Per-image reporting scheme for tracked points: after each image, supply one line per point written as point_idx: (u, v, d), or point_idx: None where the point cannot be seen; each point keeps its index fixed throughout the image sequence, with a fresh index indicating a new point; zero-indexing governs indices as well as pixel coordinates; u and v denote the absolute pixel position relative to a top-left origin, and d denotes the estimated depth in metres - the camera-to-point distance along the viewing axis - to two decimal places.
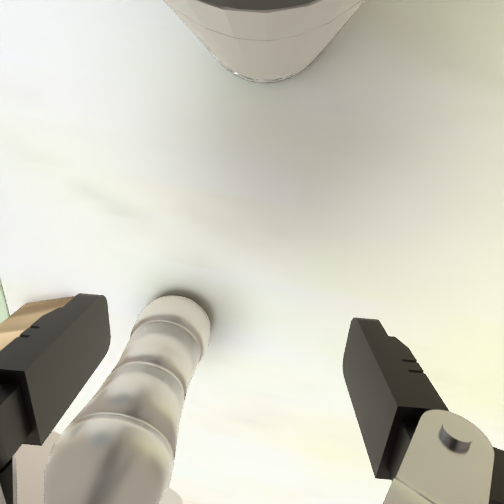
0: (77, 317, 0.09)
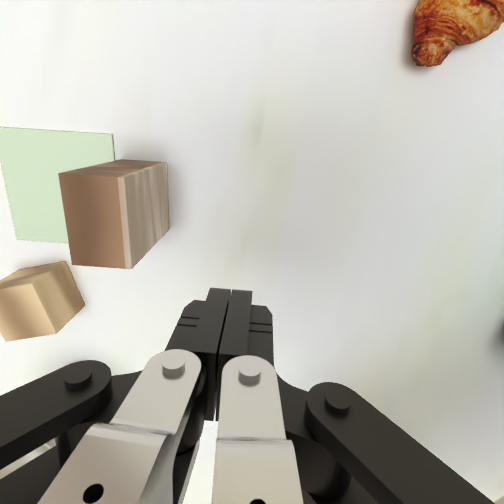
0: (225, 308, 0.10)
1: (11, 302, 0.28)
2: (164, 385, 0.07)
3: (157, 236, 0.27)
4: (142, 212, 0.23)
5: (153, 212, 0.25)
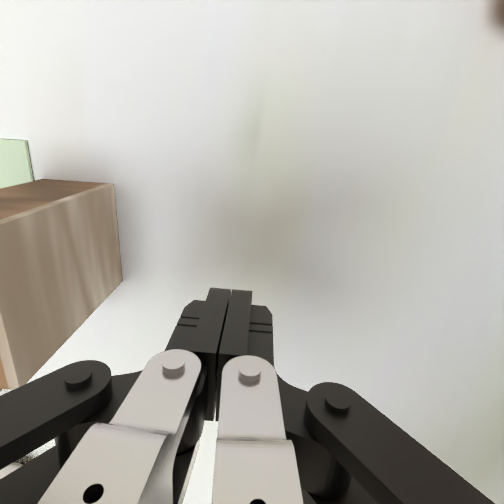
0: (225, 308, 0.10)
1: None
2: (164, 385, 0.07)
3: (95, 301, 0.17)
4: (50, 278, 0.13)
5: (83, 267, 0.15)
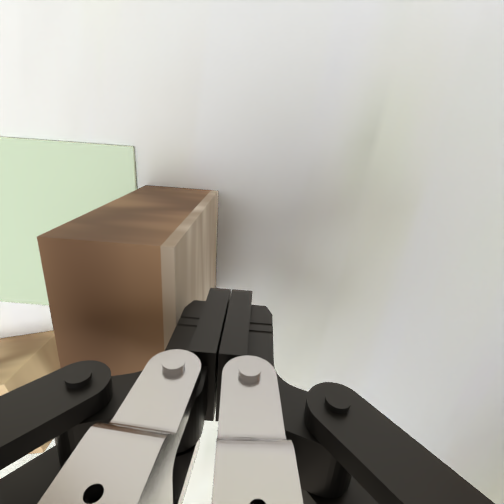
0: (225, 308, 0.10)
1: None
2: (164, 385, 0.07)
3: None
4: (193, 291, 0.13)
5: (204, 277, 0.15)
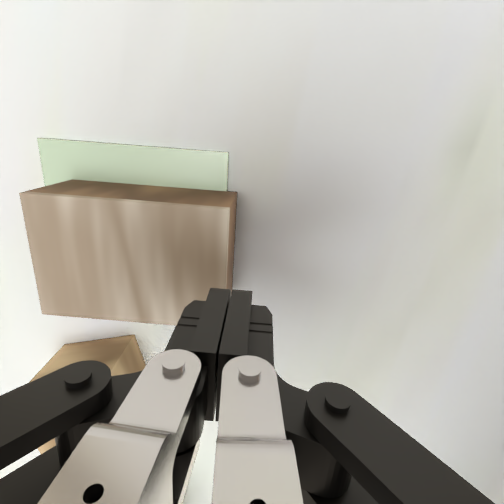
0: (225, 308, 0.10)
1: None
2: (164, 385, 0.07)
3: (156, 315, 0.16)
4: (87, 258, 0.15)
5: (139, 273, 0.15)
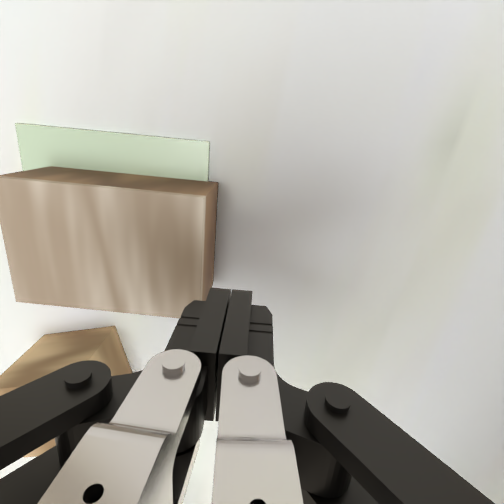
0: (225, 308, 0.10)
1: None
2: (164, 385, 0.07)
3: (131, 305, 0.16)
4: (61, 245, 0.15)
5: (114, 261, 0.15)
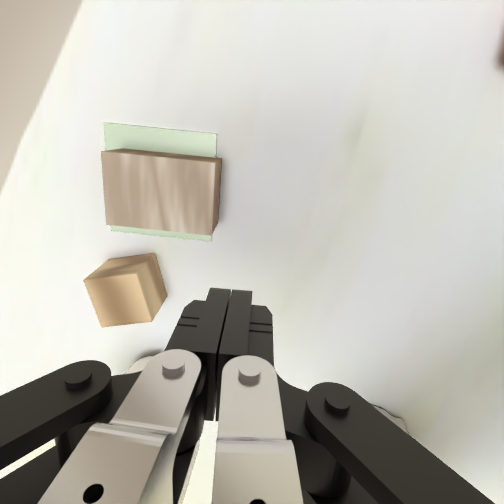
0: (225, 308, 0.10)
1: (113, 290, 0.29)
2: (164, 385, 0.07)
3: (172, 226, 0.27)
4: (135, 190, 0.26)
5: (164, 200, 0.27)
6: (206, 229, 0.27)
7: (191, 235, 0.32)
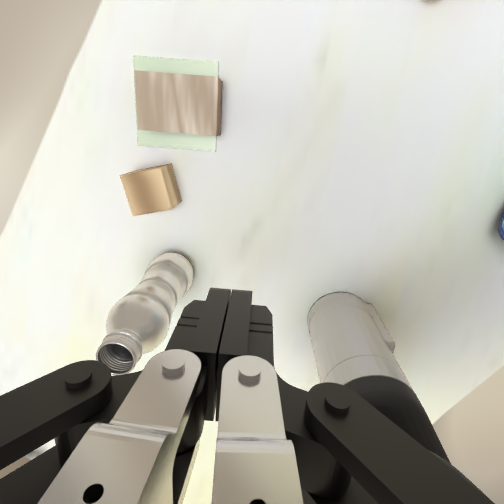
0: (225, 308, 0.10)
1: (142, 183, 0.38)
2: (164, 385, 0.07)
3: (186, 129, 0.37)
4: (159, 100, 0.36)
5: (180, 107, 0.36)
6: (212, 130, 0.37)
7: (200, 146, 0.41)
